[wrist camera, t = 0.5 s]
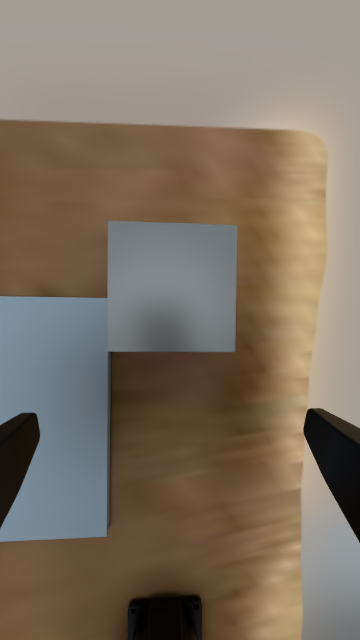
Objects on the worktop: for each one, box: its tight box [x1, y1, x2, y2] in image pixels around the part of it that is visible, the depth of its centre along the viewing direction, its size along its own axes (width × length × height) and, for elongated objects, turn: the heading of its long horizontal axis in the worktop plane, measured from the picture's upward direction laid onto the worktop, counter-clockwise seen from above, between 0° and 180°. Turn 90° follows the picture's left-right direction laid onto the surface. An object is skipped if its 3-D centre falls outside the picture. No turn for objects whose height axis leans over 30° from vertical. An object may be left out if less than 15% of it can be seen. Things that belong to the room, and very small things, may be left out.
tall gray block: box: [107, 221, 237, 352], centre depth 18 cm, size 6×6×10 cm
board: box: [0, 296, 111, 542], centre depth 21 cm, size 20×14×1 cm
